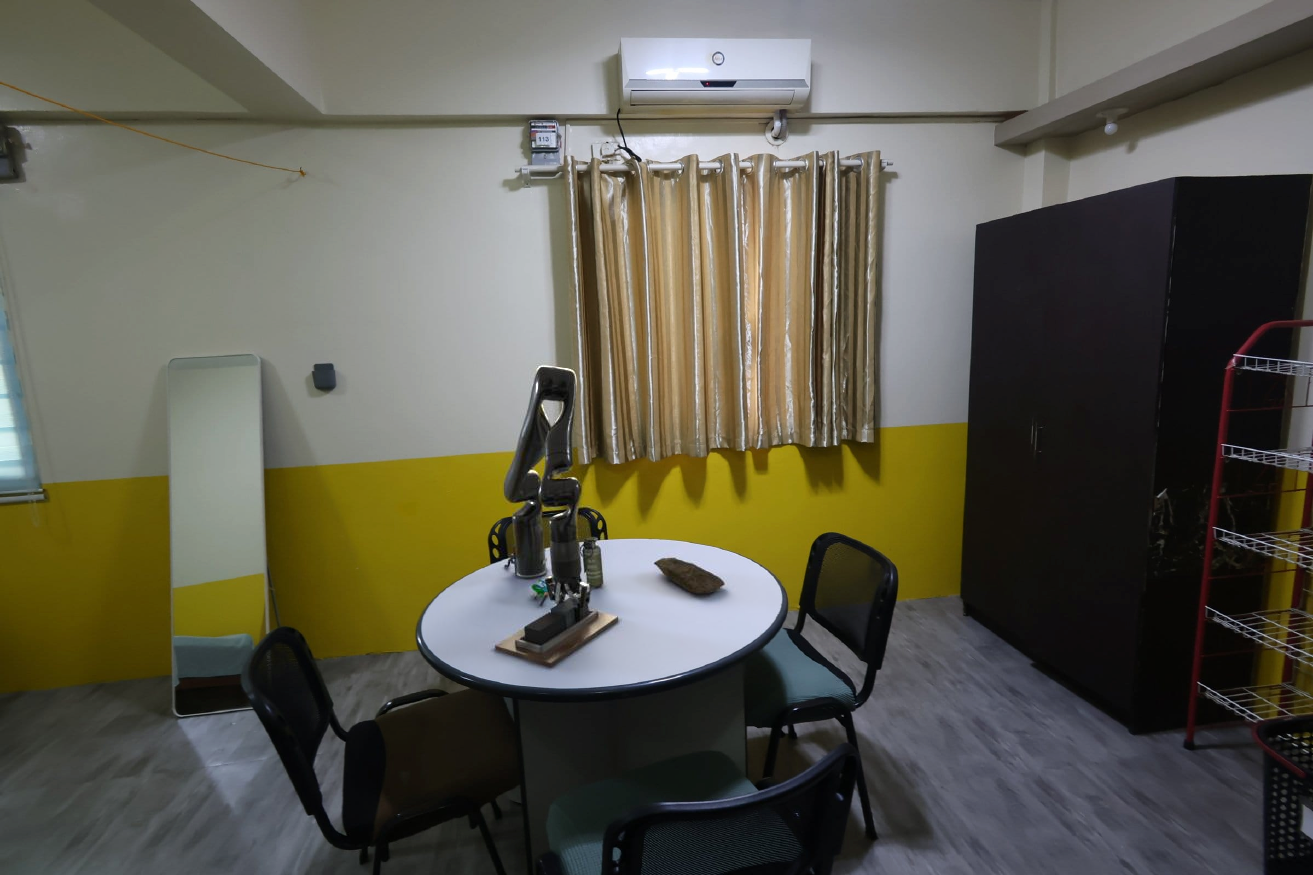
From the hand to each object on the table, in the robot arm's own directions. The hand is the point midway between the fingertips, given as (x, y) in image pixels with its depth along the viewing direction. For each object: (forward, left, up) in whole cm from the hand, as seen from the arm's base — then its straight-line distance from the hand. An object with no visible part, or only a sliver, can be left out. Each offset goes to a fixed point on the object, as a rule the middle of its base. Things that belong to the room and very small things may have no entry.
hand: (570, 618), depth 158 cm
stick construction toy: (-18, +9, -3) cm, 21 cm away
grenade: (-11, +23, -3) cm, 26 cm away
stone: (+13, +37, -3) cm, 40 cm away
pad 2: (0, 0, 0) cm, 0 cm away
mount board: (0, -5, -2) cm, 5 cm away
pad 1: (0, -9, -1) cm, 9 cm away
